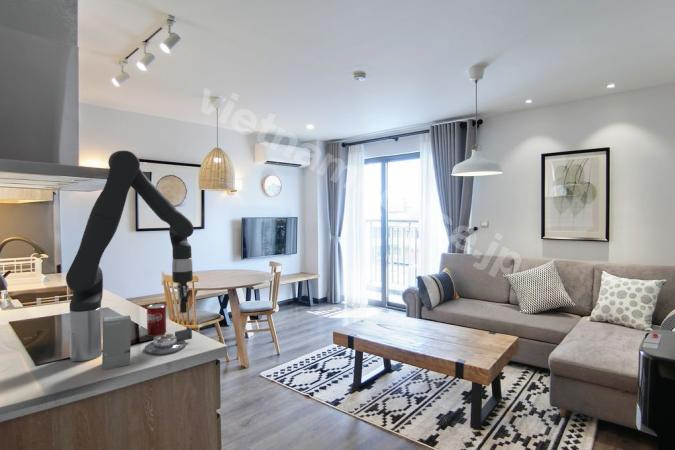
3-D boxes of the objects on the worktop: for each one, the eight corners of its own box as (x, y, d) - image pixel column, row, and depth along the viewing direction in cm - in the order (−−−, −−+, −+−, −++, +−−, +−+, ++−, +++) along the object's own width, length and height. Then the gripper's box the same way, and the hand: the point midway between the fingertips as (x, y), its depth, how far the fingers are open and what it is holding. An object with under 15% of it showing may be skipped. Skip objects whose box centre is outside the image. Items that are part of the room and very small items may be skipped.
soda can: (158, 337, 154) (158, 308, 154) (143, 336, 156) (142, 307, 155) (169, 332, 161) (169, 304, 161) (155, 330, 163) (154, 303, 162)
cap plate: (150, 358, 133) (150, 354, 133) (140, 347, 143) (140, 343, 143) (190, 349, 142) (190, 345, 142) (178, 339, 153) (178, 336, 152)
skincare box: (102, 370, 123) (101, 322, 122) (102, 362, 129) (101, 316, 128) (131, 365, 127) (131, 318, 126) (130, 357, 133) (129, 313, 133)
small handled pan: (157, 350, 137) (157, 337, 137) (151, 344, 143) (150, 332, 143) (196, 341, 146) (196, 329, 146) (188, 336, 152) (188, 325, 152)
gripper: (195, 271, 147) (196, 314, 148) (189, 266, 159) (190, 307, 159) (174, 272, 143) (175, 317, 144) (170, 268, 155) (171, 309, 156)
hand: (183, 312), depth 152 cm, fingers closed
